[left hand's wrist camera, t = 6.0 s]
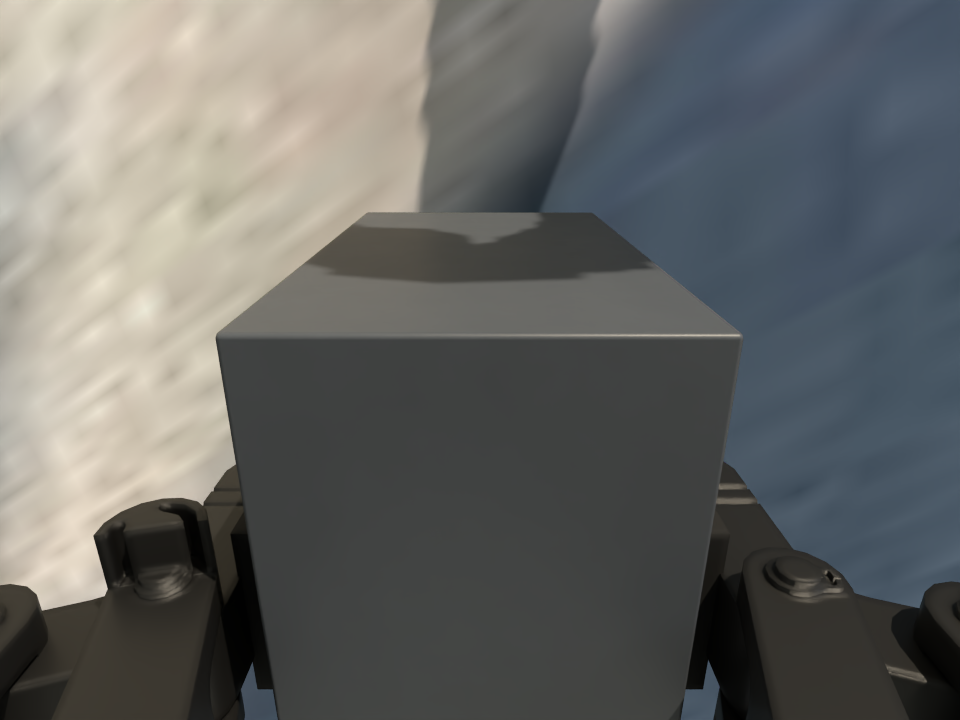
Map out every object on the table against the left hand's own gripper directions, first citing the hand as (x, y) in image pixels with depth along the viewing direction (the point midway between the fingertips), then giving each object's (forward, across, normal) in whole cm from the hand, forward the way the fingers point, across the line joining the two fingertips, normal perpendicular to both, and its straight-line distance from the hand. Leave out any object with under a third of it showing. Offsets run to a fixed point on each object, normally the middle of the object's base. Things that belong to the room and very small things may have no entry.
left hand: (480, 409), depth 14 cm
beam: (+1, 0, -30) cm, 30 cm away
